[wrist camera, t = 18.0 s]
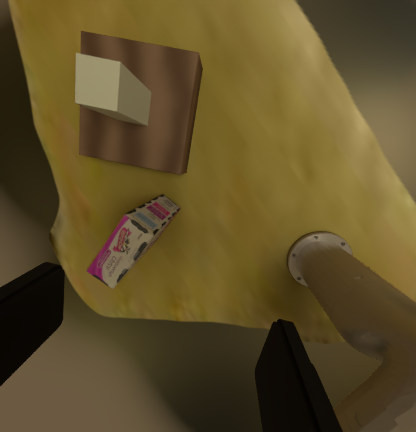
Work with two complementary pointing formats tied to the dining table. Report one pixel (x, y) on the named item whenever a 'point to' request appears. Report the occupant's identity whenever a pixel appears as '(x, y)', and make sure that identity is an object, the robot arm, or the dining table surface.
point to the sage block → (111, 89)
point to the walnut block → (159, 106)
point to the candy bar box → (132, 239)
